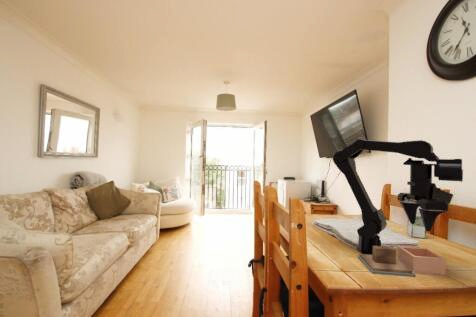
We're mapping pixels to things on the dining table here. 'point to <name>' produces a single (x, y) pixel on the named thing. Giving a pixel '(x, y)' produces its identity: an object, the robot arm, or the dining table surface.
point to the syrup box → (417, 227)
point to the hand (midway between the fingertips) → (419, 227)
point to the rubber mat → (386, 272)
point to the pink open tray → (422, 260)
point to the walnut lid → (384, 260)
